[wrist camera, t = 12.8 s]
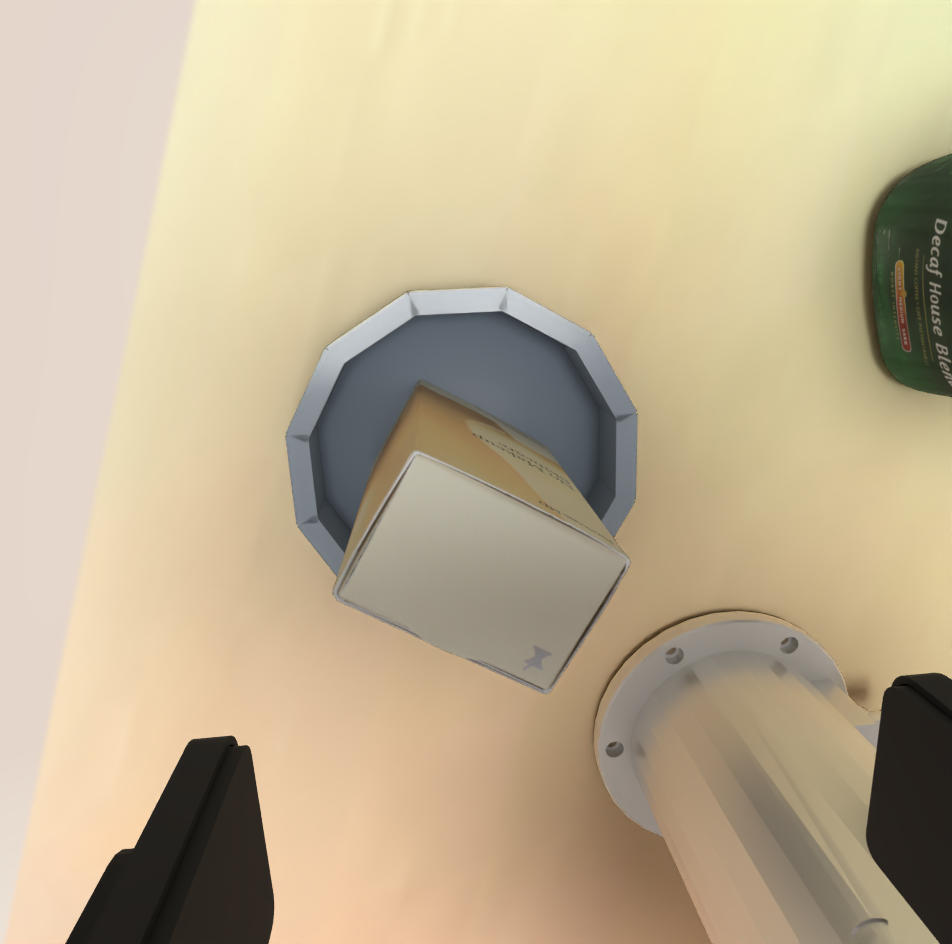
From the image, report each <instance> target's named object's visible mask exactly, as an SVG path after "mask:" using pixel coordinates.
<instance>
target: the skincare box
mask: <svg viewBox="0 0 952 944" xmlns="http://www.w3.org/2000/svg"><path fill="white" fill-rule="evenodd" d="M630 563H631V562H630V559H629V557H628V556H627V555H626V554H625V553H624V551H623V550H622V549H621V547H620V546H619V545H618V543H617V542H616V541H615V539H614V538H613V536H612V535H611V534H610V532H609V531H608V530H607V528H606V527H605V526H604V524H603V523H602V522H601V520H600V519H599V518H598V516H597V515H596V513H595V512H594V511H593V509H592V508H591V507H590V505H589V504H588V503H587V501H586V500H585V498H584V497H583V496H582V494H581V493H580V491H579V490H578V489H577V488H576V486H575V485H574V483H573V482H572V481H571V479H570V478H569V477H568V475H567V474H566V473H565V471H564V470H563V468H562V467H561V466H560V464H559V463H558V461H557V460H556V459H555V457H554V456H553V454H552V453H551V452H550V450H549V449H548V448H547V447H546V446H545V445H543V444H542V443H540V442H538V441H537V440H535V439H533V438H532V437H530V436H528V435H527V434H525V433H523V432H522V431H520V430H518V429H516V428H515V427H513V426H511V425H509V424H508V423H506V422H504V421H502V420H500V419H499V418H497V417H495V416H493V415H491V414H489V413H487V412H486V411H484V410H482V409H480V408H478V407H476V406H474V405H472V404H470V403H468V402H466V401H464V400H462V399H460V398H458V397H456V396H454V395H452V394H450V393H448V392H446V391H444V390H442V389H440V388H438V387H436V386H434V385H432V384H430V383H428V382H426V381H423V380H419V381H418V382H417V384H416V386H415V388H414V389H413V391H412V393H411V394H410V396H409V398H408V400H407V401H406V403H405V405H404V407H403V409H402V410H401V412H400V414H399V416H398V418H397V419H396V421H395V423H394V425H393V427H392V428H391V430H390V432H389V434H388V436H387V438H386V440H385V442H384V444H383V445H382V447H381V449H380V451H379V453H378V455H377V457H376V459H375V461H374V463H373V466H372V470H371V473H370V476H369V478H368V481H367V484H366V488H365V492H364V495H363V498H362V501H361V504H360V507H359V510H358V513H357V517H356V520H355V523H354V526H353V529H352V533H351V536H350V539H349V542H348V545H347V548H346V551H345V555H344V558H343V561H342V564H341V567H340V570H339V573H338V576H337V579H336V582H335V585H334V588H333V595H334V597H335V598H336V600H337V601H339V602H341V603H343V604H345V605H348V606H350V607H352V608H354V609H356V610H359V611H361V612H363V613H365V614H367V615H369V616H371V617H374V618H376V619H378V620H380V621H382V622H385V623H387V624H389V625H391V626H393V627H396V628H398V629H400V630H402V631H405V632H407V633H409V634H411V635H413V636H415V637H417V638H419V639H421V640H423V641H425V642H427V643H429V644H431V645H433V646H435V647H437V648H440V649H442V650H444V651H446V652H449V653H451V654H454V655H457V656H459V657H462V658H464V659H467V660H469V661H472V662H474V663H476V664H478V665H480V666H482V667H485V668H487V669H489V670H491V671H493V672H496V673H498V674H501V675H503V676H505V677H507V678H509V679H512V680H514V681H516V682H518V683H520V684H523V685H525V686H527V687H530V688H532V689H534V690H536V691H538V692H540V693H543V694H548V693H550V692H551V690H552V689H553V687H554V686H555V684H556V683H557V681H558V680H559V678H560V676H561V675H562V673H563V672H564V670H565V669H566V668H567V666H568V665H569V663H570V662H571V660H572V658H573V657H574V655H575V654H576V652H577V651H578V649H579V648H580V647H581V645H582V643H583V642H584V640H585V638H586V637H587V635H588V634H589V632H590V631H591V629H592V628H593V626H594V625H595V623H596V622H597V620H598V618H599V617H600V615H601V614H602V612H603V610H604V609H605V607H606V606H607V604H608V603H609V601H610V599H611V597H612V596H613V594H614V593H615V591H616V589H617V587H618V585H619V583H620V581H621V579H622V578H623V576H624V575H625V573H626V571H627V570H628V568H629V566H630Z"/></svg>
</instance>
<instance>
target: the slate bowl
mask: <svg viewBox="0 0 952 944" xmlns="http://www.w3.org/2000/svg"><path fill="white" fill-rule="evenodd" d="M419 380H423V381H426V382H428V383H430V384H432V385H434V386H436V387H438V388H440V389H442V390H444V391H446V392H448V393H450V394H452V395H454V396H456V397H458V398H460V399H462V400H464V401H466V402H468V403H470V404H472V405H474V406H476V407H478V408H480V409H482V410H484V411H486V412H487V413H489V414H491V415H493V416H495V417H497V418H499V419H500V420H502V421H504V422H506V423H508V424H509V425H511V426H513V427H515V428H516V429H518V430H520V431H522V432H523V433H525V434H527V435H528V436H530V437H532V438H533V439H535V440H537V441H538V442H540V443H542V444H543V445H545V446H546V447H547V448H548V449H549V450H550V452H551V453H552V454H553V456H554V457H555V459H556V460H557V461H558V463H559V464H560V466H561V467H562V468H563V470H564V471H565V473H566V474H567V475H568V477H569V478H570V479H571V481H572V482H573V483H574V485H575V486H576V488H577V489H578V490H579V491H580V493H581V494H582V496H583V497H584V498H585V500H586V501H587V503H588V504H589V505H590V507H591V508H592V509H593V511H594V512H595V513H596V515H597V516H598V518H599V519H600V520H601V522H602V523H603V524H604V526H605V527H606V528H607V530H608V531H609V532H610V534H611V535H612V536H613V538H614V536H615V535H616V533H617V531H618V530H619V528H620V526H621V525H622V523H623V521H624V519H625V518H626V516H627V514H628V513H629V511H630V509H631V508H632V506H633V504H634V502H635V501H634V500H636V460H637V413H636V412H637V411H636V409H635V407H634V405H633V404H632V402H631V400H630V398H629V397H628V395H627V393H626V391H625V390H624V388H623V386H622V384H621V383H620V381H619V379H618V378H617V376H616V374H615V372H614V371H613V369H612V367H611V365H610V364H609V362H608V360H607V358H606V357H605V355H604V353H603V351H602V350H601V348H600V346H599V344H598V343H597V341H596V339H595V337H594V336H593V334H591V332H589V331H587V330H585V329H584V328H582V327H580V326H578V325H576V324H574V323H573V322H571V321H569V320H567V319H565V318H563V317H562V316H560V315H558V314H556V313H554V312H552V311H551V310H549V309H547V308H545V307H543V306H541V305H540V304H538V303H536V302H534V301H532V300H530V299H528V298H527V297H525V296H523V295H521V294H519V293H517V292H516V291H514V290H512V289H510V288H506V287H496V286H492V287H471V288H450V289H430V290H409V293H408V291H407V292H405V293H404V294H402V295H401V296H399V297H398V298H396V299H395V300H394V301H392V302H391V303H389V304H388V305H386V306H385V307H383V308H382V309H380V310H379V311H377V312H376V313H374V314H373V315H371V316H370V317H368V318H367V319H365V320H364V321H362V322H361V323H359V324H358V325H356V326H355V327H353V328H352V329H350V330H349V331H347V332H346V333H344V334H343V335H341V336H340V337H338V338H337V339H336V340H334V341H333V342H332V343H331V344H329V345H328V346H327V347H326V348H325V349H324V351H323V353H322V356H321V358H320V360H319V362H318V364H317V367H316V369H315V371H314V373H313V375H312V378H311V380H310V382H309V384H308V386H307V388H306V391H305V393H304V395H303V397H302V399H301V402H300V404H299V406H298V408H297V410H296V412H295V415H294V417H293V419H292V421H291V423H290V426H289V428H288V430H287V432H286V434H287V435H286V436H285V437H286V445H287V452H288V460H289V468H290V476H291V484H292V492H293V500H294V508H295V516H296V524H298V528H299V529H300V530H301V532H302V533H303V534H304V535H305V537H306V538H307V539H308V540H309V542H310V543H311V544H312V546H313V547H314V548H315V549H316V551H317V552H318V553H319V554H320V556H321V557H322V558H323V560H324V561H325V562H326V563H327V565H328V566H329V567H330V568H331V570H332V571H333V572H334V574H335V575H336V576H338V573H339V570H340V567H341V564H342V561H343V558H344V555H345V551H346V548H347V545H348V542H349V539H350V536H351V533H352V529H353V526H354V523H355V520H356V517H357V513H358V510H359V507H360V504H361V501H362V498H363V495H364V492H365V488H366V484H367V481H368V478H369V476H370V473H371V470H372V466H373V463H374V461H375V459H376V457H377V455H378V453H379V451H380V449H381V447H382V445H383V444H384V442H385V440H386V438H387V436H388V434H389V432H390V430H391V428H392V427H393V425H394V423H395V421H396V419H397V418H398V416H399V414H400V412H401V410H402V409H403V407H404V405H405V403H406V401H407V400H408V398H409V396H410V394H411V393H412V391H413V389H414V388H415V386H416V384H417V382H418V381H419Z"/></svg>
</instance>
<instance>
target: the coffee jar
mask: <svg viewBox="0 0 952 944" xmlns="http://www.w3.org/2000/svg"><path fill="white" fill-rule="evenodd" d="M872 285H873V305H874V314H875V321H876V328H877V334H878V340H879V345H880V349H881V353H882V357H883V360H884V362H885V364H886V366H887V368H888V369H889V371H890V372H891V373H892V375H893V376H894V377H895V378H896V379H897V380H898V381H899V382H901V383H902V384H904V385H905V386H907V387H910V388H912V389H915V390H918V391H922V392H926V393H932V394H937V395H943V396H950V397H952V154H950V155H947V156H944V157H941V158H938V159H936V160H933V161H931V162H929V163H927V164H925V165H923V166H921V167H919V168H917V169H915V170H914V171H912V172H911V173H910V174H908V175H907V176H906V177H904V178H903V179H902V180H901V181H900V182H899V183H898V184H897V185H896V186H895V187H894V189H893V190H892V191H891V192H890V194H889V195H888V196H887V198H886V200H885V202H884V203H883V205H882V207H881V209H880V212H879V214H878V217H877V220H876V225H875V231H874V241H873V258H872Z"/></svg>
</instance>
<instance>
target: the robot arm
mask: <svg viewBox="0 0 952 944" xmlns="http://www.w3.org/2000/svg"><path fill="white" fill-rule="evenodd" d="M876 748H877V749H876ZM594 750H595V756H596V762H597V766H598V769H599V771H600V774H601V777H602V780H603V782H604V785H605V787H606V789H607V791H608V792H609V794H610V796H611V798H612V799H613V801H614V803H615V804H616V805H617V806H618V807H619V808H620V809H621V810H622V812H623V813H624V814H625V815H626V816H627V817H628V818H629V819H631V820H632V821H634V822H635V823H637V824H638V825H639V826H641V827H642V828H644V829H645V830H648V831H650V832H652V833H654V834H656V835H658V836H661V837H664V840H665V842H666V844H667V846H668V848H669V851H670V853H671V855H672V857H673V860H674V862H675V864H676V866H677V868H678V871H679V873H680V875H681V877H682V879H683V882H684V884H685V886H686V888H687V890H688V893H689V895H690V897H691V899H692V901H693V904H694V906H695V908H696V910H697V913H698V915H699V917H700V919H701V921H702V924H703V926H704V928H705V930H706V932H707V935H708V937H709V939H710V941H711V943H712V944H952V680H951V679H950V678H948V677H947V676H945V675H943V674H940V673H928V674H917V675H905V676H900V677H897V678H896V679H895V680H894V682H893V683H892V687H890V688H887V689H886V691H885V692H884V696H883V702H882V710H880V711H873V712H868V711H867V710H866V709H865V708H863V707H859V706H858V705H857V704H856V703H855V702H854V701H853V700H852V699H851V698H850V697H849V695H848V691H847V687H846V684H845V680H844V677H843V675H842V674H841V672H840V670H839V668H838V666H837V664H836V663H835V661H834V660H833V658H832V657H831V656H830V655H829V654H828V653H827V652H826V651H825V650H824V648H823V647H822V646H821V645H820V644H819V643H817V642H816V641H815V640H814V639H813V638H811V637H810V636H809V635H808V634H807V633H805V632H804V631H803V630H801V629H800V628H798V627H796V626H794V625H792V624H790V623H789V622H787V621H785V620H783V619H779V618H776V617H773V616H769V615H766V614H763V613H754V612H743V611H732V612H720V613H712V614H708V615H704V616H700V617H697V618H693V619H689V620H687V621H684V622H682V623H680V624H678V625H676V626H673V627H671V628H669V629H667V630H665V631H663V632H662V633H660V634H659V635H657V636H656V637H654V638H653V639H651V640H650V641H648V642H647V643H645V644H644V645H643V646H642V647H641V648H639V649H638V650H637V651H636V652H635V653H634V654H633V655H632V656H631V657H630V658H629V659H628V660H627V661H626V662H625V663H624V664H623V666H622V667H621V668H620V670H619V671H618V672H617V674H616V675H615V676H614V678H613V679H612V680H611V682H610V684H609V686H608V688H607V690H606V692H605V694H604V696H603V698H602V700H601V702H600V706H599V709H598V713H597V717H596V720H595V727H594ZM273 918H274V895H273V888H272V882H271V875H270V869H269V863H268V856H267V850H266V843H265V837H264V831H263V824H262V818H261V812H260V805H259V799H258V792H257V786H256V780H255V773H254V767H253V760H252V754H251V750H250V748H249V746H247V745H244V746H238V744H237V741H236V739H235V737H233V736H223V737H212V738H201V739H193V740H191V741H190V742H189V743H188V745H187V746H186V748H185V750H184V752H183V754H182V756H181V758H180V760H179V762H178V764H177V766H176V768H175V769H174V771H173V773H172V775H171V777H170V779H169V781H168V783H167V785H166V787H165V789H164V791H163V793H162V795H161V797H160V799H159V801H158V803H157V805H156V807H155V809H154V811H153V812H152V814H151V816H150V818H149V820H148V822H147V824H146V826H145V828H144V830H143V832H142V834H141V836H140V838H139V840H138V842H137V844H136V846H135V848H133V849H123V850H121V851H120V852H118V853H117V854H116V855H115V856H114V857H113V859H112V860H111V862H110V863H109V864H108V866H107V868H106V870H105V872H104V873H103V875H102V877H101V879H100V881H99V883H98V884H97V886H96V888H95V890H94V892H93V894H92V895H91V897H90V899H89V901H88V903H87V905H86V907H85V908H84V910H83V912H82V914H81V916H80V918H79V919H78V921H77V923H76V925H75V927H74V929H73V931H72V932H71V934H70V936H69V938H68V940H67V942H66V943H65V944H268V943H269V939H270V935H271V930H272V925H273Z"/></svg>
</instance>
